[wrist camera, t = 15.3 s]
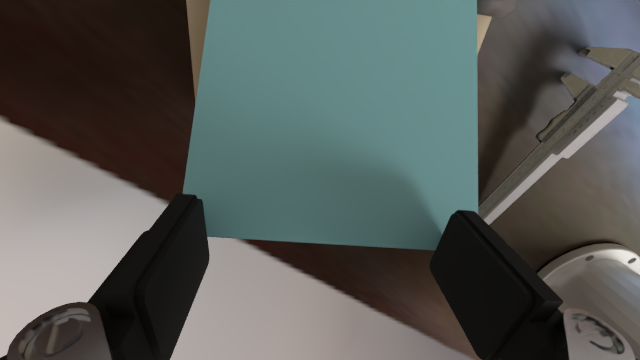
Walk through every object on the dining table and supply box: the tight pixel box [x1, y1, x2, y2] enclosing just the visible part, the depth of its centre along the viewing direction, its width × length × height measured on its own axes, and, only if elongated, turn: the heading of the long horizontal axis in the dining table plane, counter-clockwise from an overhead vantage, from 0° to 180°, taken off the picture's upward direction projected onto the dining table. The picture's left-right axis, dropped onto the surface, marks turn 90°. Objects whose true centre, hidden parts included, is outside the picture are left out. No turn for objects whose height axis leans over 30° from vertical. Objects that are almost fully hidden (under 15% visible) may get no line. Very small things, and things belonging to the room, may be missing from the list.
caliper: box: [478, 47, 640, 225], centre depth 21 cm, size 20×1×6 cm, turn 163°
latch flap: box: [183, 0, 478, 250], centre depth 11 cm, size 12×12×1 cm
